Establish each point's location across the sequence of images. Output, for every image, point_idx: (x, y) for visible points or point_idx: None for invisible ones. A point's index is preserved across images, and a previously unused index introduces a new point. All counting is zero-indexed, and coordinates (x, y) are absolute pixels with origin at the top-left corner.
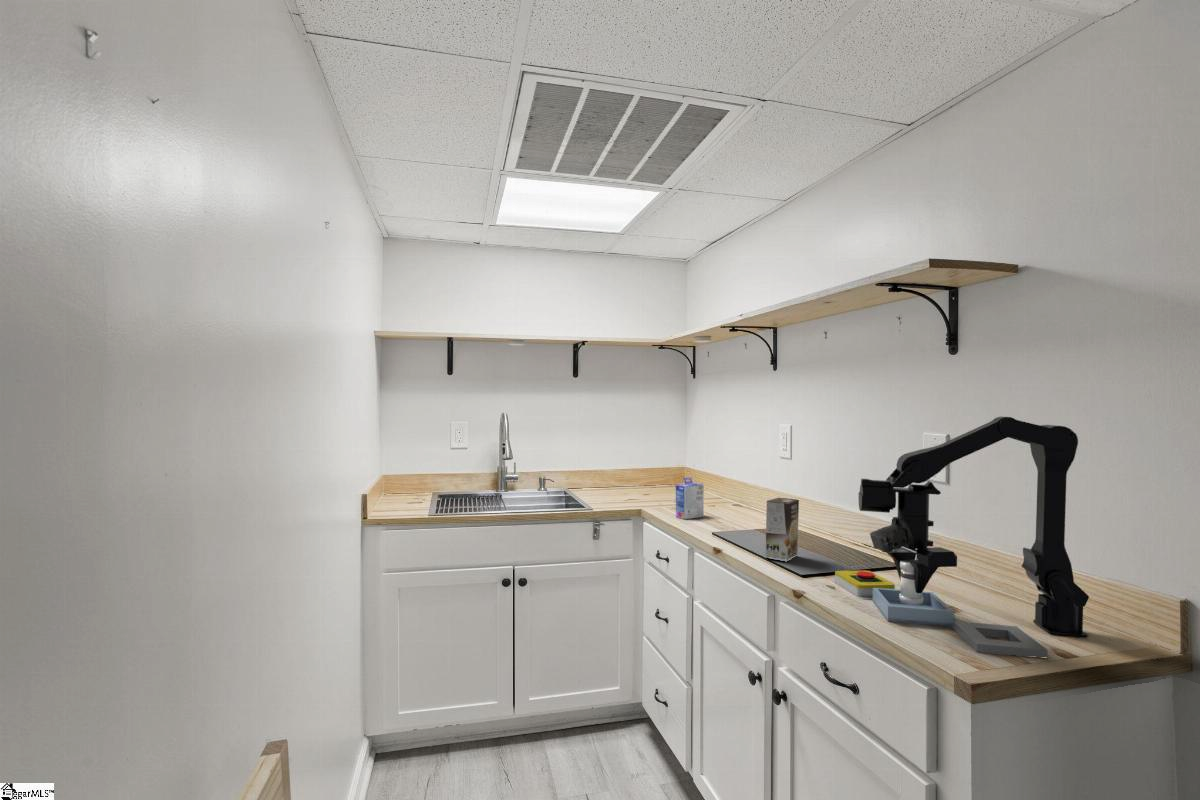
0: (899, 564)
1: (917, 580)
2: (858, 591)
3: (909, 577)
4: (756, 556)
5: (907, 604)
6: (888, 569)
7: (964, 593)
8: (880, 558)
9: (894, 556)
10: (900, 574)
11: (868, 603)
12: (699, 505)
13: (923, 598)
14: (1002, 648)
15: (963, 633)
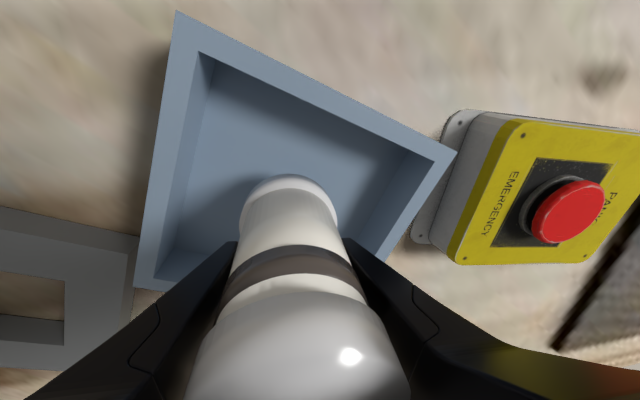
0: (405, 329)
1: (169, 290)
2: (495, 118)
3: (237, 273)
4: None
5: (344, 224)
6: (563, 323)
7: None
8: (610, 340)
9: (494, 390)
10: (367, 269)
11: (412, 106)
12: None
13: None
14: None
15: (13, 223)
